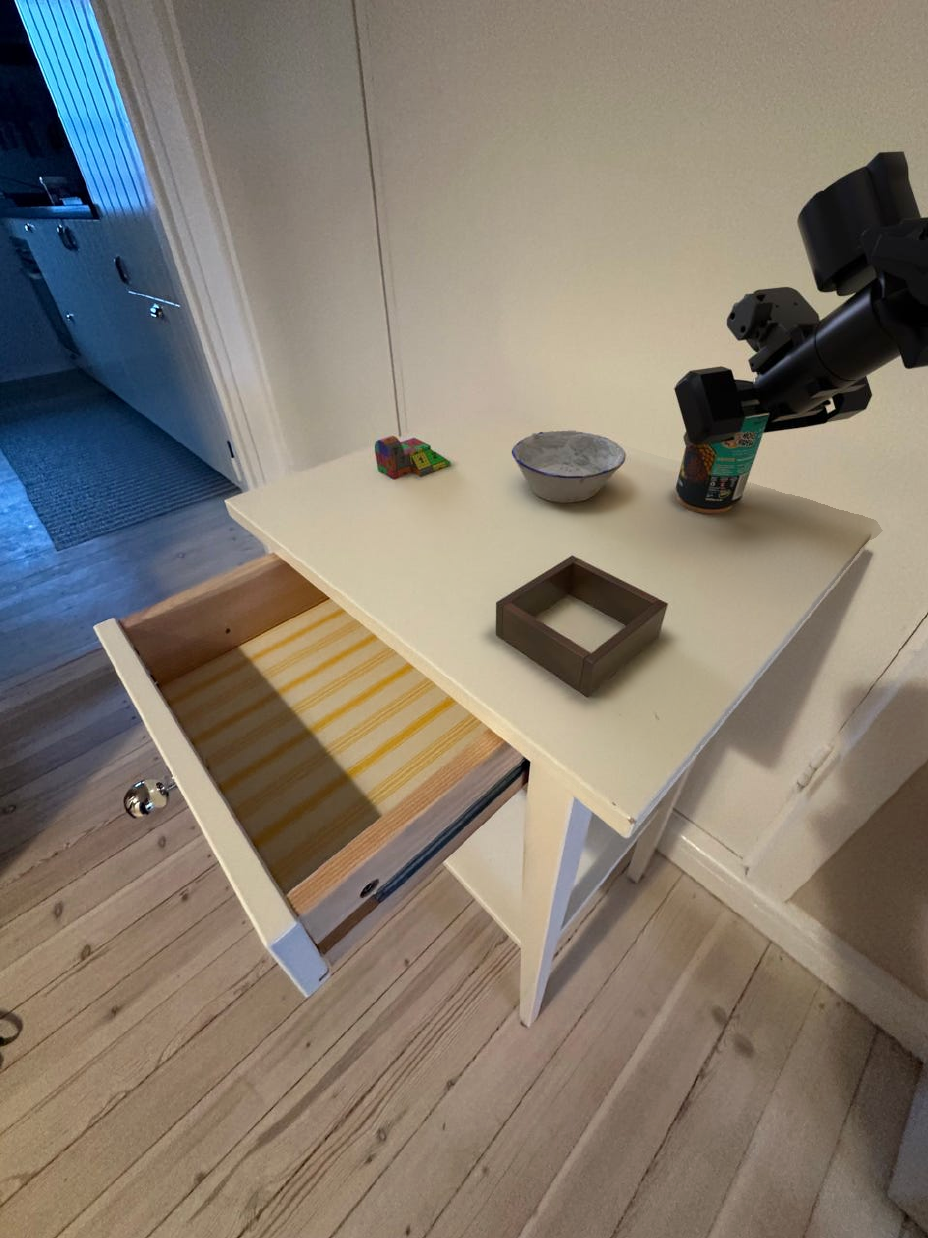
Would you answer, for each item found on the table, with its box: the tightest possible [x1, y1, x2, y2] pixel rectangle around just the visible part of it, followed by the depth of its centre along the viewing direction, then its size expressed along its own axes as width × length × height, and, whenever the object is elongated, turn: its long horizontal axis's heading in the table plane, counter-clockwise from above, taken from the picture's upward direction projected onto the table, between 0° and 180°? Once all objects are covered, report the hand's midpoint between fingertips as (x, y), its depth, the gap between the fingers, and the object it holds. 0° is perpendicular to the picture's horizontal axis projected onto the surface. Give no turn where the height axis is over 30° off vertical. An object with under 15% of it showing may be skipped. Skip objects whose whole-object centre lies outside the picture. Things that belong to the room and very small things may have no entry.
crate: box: [495, 554, 669, 697], centre depth 43 cm, size 10×10×4 cm
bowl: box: [511, 429, 627, 504], centre depth 63 cm, size 13×13×5 cm
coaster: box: [676, 493, 733, 514], centre depth 61 cm, size 6×6×1 cm
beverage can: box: [675, 378, 769, 509], centre depth 56 cm, size 7×7×12 cm
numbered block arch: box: [374, 435, 451, 480], centre depth 68 cm, size 8×5×4 cm
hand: (714, 436), depth 57 cm, fingers closed on beverage can, 7 cm apart
